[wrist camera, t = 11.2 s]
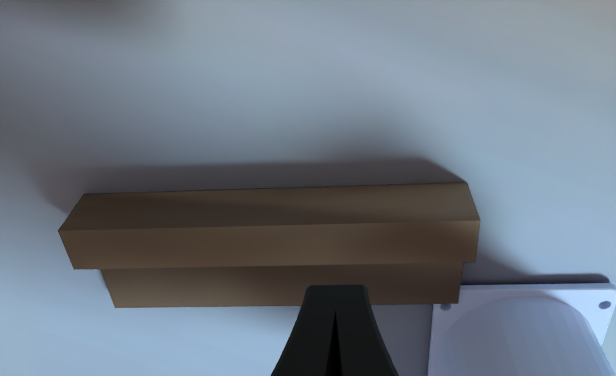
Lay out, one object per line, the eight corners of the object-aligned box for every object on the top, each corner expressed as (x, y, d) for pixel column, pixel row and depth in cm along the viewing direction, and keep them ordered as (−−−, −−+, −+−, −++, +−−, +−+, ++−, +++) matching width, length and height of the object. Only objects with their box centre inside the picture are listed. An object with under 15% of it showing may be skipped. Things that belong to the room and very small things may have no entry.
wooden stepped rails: (455, 291, 25) (465, 333, 23) (120, 295, 26) (101, 335, 24) (524, -336, 13) (558, -367, 11) (-87, -270, 15) (-158, -286, 12)
